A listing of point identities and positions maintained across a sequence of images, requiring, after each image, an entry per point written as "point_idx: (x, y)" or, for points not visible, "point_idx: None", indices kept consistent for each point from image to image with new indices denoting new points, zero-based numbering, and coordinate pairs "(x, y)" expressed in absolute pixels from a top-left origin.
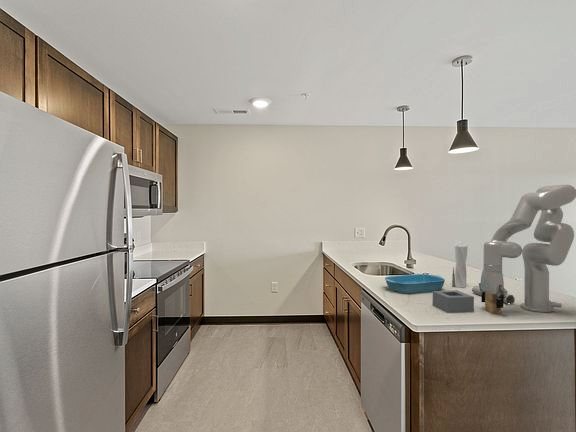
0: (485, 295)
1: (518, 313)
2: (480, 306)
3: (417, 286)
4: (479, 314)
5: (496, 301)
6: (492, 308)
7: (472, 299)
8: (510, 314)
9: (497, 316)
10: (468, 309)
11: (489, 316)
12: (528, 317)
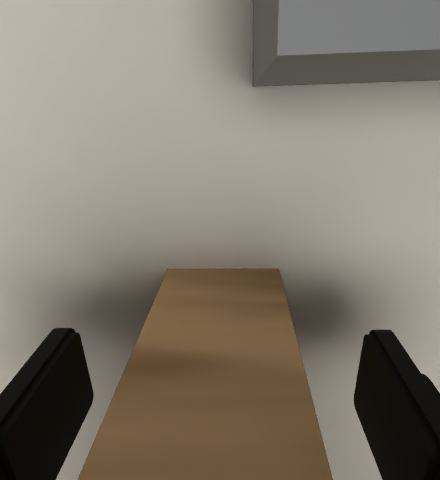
0: (310, 438)
1: None
2: (436, 321)
3: None
4: (121, 81)
5: (14, 399)
6: (154, 306)
7: (268, 14)
8: None
9: (49, 249)
10: None
11: (40, 159)
12: None
